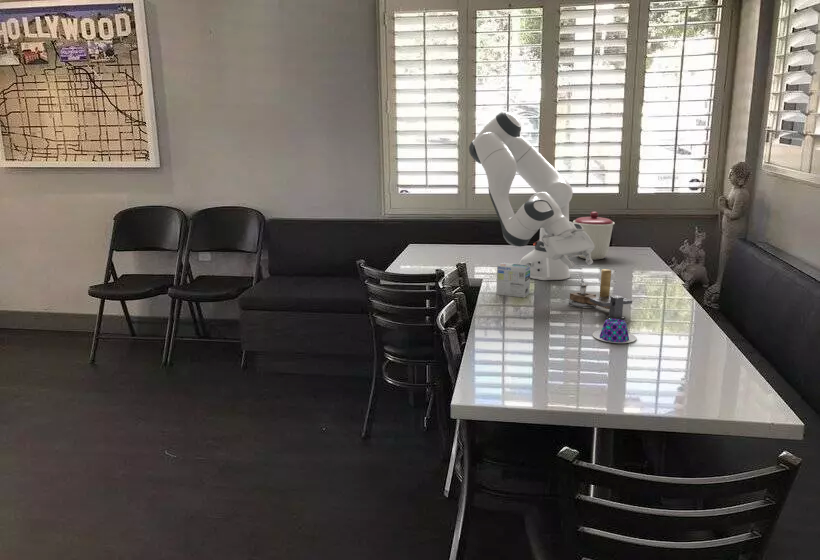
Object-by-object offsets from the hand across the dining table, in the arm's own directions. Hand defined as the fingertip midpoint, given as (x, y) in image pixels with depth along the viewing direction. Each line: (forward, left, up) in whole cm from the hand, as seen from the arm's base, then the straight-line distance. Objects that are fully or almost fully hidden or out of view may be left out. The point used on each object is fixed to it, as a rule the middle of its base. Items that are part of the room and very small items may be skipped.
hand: (581, 265), depth 221 cm
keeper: (+14, -10, -13) cm, 22 cm away
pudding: (+22, -31, -13) cm, 40 cm away
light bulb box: (-24, -2, -13) cm, 27 cm away
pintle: (+2, -1, -13) cm, 13 cm away
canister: (-23, +79, -13) cm, 83 cm away
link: (+7, -4, -11) cm, 14 cm away
